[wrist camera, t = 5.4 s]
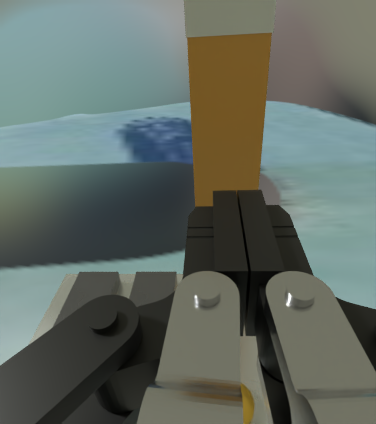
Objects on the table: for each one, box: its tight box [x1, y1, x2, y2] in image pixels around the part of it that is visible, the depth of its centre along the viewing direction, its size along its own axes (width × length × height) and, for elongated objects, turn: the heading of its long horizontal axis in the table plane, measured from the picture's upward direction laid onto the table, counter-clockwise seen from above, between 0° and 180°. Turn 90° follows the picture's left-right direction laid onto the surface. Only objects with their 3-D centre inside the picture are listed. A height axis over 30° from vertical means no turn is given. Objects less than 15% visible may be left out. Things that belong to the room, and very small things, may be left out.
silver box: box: [29, 272, 269, 424], centre depth 16 cm, size 14×9×6 cm, turn 87°
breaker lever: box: [184, 0, 276, 207], centre depth 14 cm, size 3×2×16 cm, turn 87°
